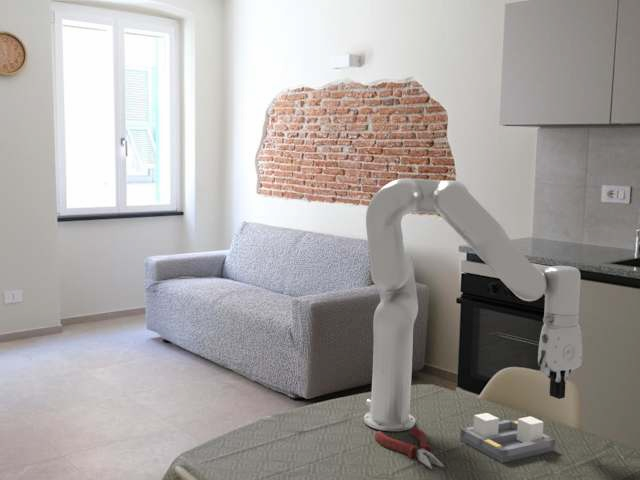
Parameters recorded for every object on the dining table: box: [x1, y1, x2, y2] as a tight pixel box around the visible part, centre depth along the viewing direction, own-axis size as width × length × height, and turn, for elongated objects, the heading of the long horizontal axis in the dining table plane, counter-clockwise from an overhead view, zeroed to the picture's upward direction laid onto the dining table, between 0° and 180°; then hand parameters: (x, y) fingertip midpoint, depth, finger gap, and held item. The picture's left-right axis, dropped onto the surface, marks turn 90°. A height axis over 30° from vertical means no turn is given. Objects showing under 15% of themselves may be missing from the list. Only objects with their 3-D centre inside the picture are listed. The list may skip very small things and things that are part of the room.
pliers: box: [374, 426, 445, 470], centre depth 166 cm, size 12×20×3 cm, turn 21°
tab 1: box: [472, 412, 500, 438], centre depth 172 cm, size 4×4×5 cm
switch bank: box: [459, 418, 556, 463], centre depth 172 cm, size 14×16×3 cm
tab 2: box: [517, 415, 545, 443], centre depth 171 cm, size 4×4×5 cm
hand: (557, 396), depth 173 cm, fingers closed
